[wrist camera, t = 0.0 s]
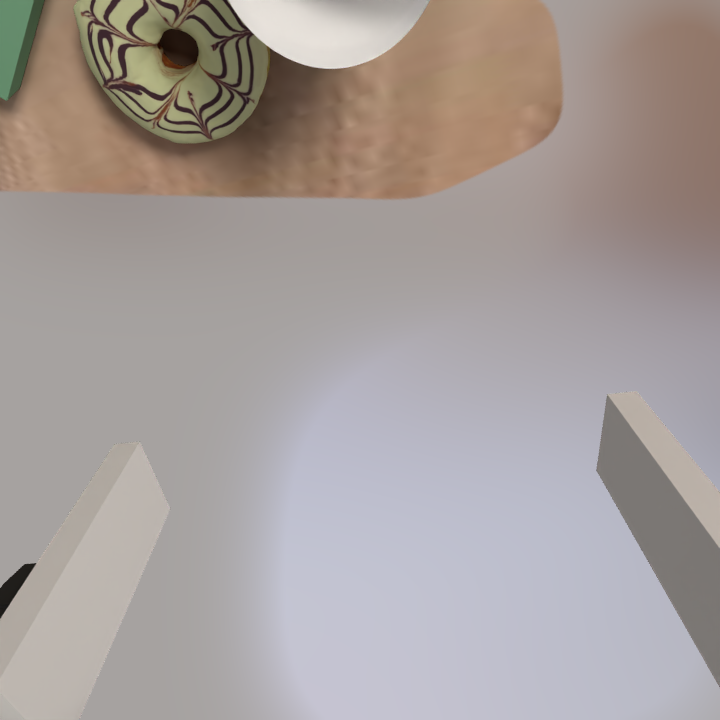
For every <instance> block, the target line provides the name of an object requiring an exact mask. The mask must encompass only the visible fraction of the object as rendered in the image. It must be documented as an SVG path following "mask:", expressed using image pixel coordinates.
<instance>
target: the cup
mask: <svg viewBox="0 0 720 720" xmlns="http://www.w3.org/2000/svg"><path fill="white" fill-rule="evenodd" d="M228 1H229V2H230V4H231V6H232V7H233V9H234V10H235V12H236V13H237V15H238V16H239V17H240V19H241V20H242V21H243V23H244V24H245V25H246V26H247V27H248V28H249V30H250V31H251V32H252V33H253V34H254V35H255V36H256V37H257V38H258V39H260V40H261V41H262V42H263V43H264V44H266V45H267V46H268V47H270V48H271V49H272V50H274V51H275V52H277V53H279V54H280V55H282V56H284V57H286V58H288V59H290V60H292V61H295V62H297V63H300V64H303V65H307V66H311V67H316V68H324V69H338V68H347V67H351V66H356V65H359V64H362V63H365V62H368V61H370V60H372V59H374V58H376V57H378V56H380V55H381V54H383V53H385V52H386V51H388V50H389V49H390V48H392V47H393V46H394V45H395V44H397V43H398V42H399V41H400V40H401V39H402V38H403V37H404V36H405V35H406V34H407V33H408V32H409V31H410V30H411V28H412V27H413V26H414V25H415V23H416V22H417V21H418V19H419V18H420V16H421V15H422V13H423V12H424V10H425V8H426V6H427V5H428V3H429V1H430V0H228Z"/></svg>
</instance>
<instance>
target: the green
mask: <svg viewBox="0 0 720 720" xmlns="http://www.w3.org/2000/svg"><path fill="white" fill-rule="evenodd" d="M43 4H44V0H0V97H1V98H3V99H4V100H6V101H7V100H8V99H9V98H10V97H11V96H12V95H13V94H14V93H15V92H16V91H17V90H18V89H19V88H20V86H21V82H22V79H23V75H24V72H25V68H26V64H27V61H28V57H29V54H30V50H31V47H32V43H33V39H34V36H35V32H36V29H37V25H38V22H39V18H40V14H41V11H42V7H43Z"/></svg>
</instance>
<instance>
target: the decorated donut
mask: <svg viewBox="0 0 720 720" xmlns="http://www.w3.org/2000/svg"><path fill="white" fill-rule="evenodd" d="M74 13H75V17H76V21H77V25H78V28H79V30H80V40H81V43H82V48H83V51H84V54H85V57H86V60H87V63H88V65H89V67H90V69H91V71H92V72H93V74H94V76H95V77H96V79H97V80H98V82H99V84H100V85H101V87H102V89H103V90H104V91H105V92H106V94H107V95H108V96H109V97H110V98H111V100H112V101H113V102H114V103H115V105H116V106H117V107H118V108H119V109H121V110H122V111H123V112H124V113H125V114H126V115H127V116H128V117H130V118H131V119H132V120H134V121H135V122H136V123H138V124H139V125H140V126H141V127H143V128H145V129H146V130H148V131H150V132H152V133H153V134H155V135H157V136H160V137H162V138H165V139H168V140H170V141H172V142H175V143H201V142H209V141H212V140H216V139H218V138H222V137H225V136H227V135H229V134H230V133H232V132H233V131H235V130H236V128H237V127H239V126H240V125H242V124H243V123H244V121H245V120H246V119H247V118H248V117H250V116H251V114H252V112H253V111H254V109H255V108H256V106H257V104H258V101H259V99H260V97H261V94H262V92H263V90H264V87H265V83H266V80H267V75H268V71H269V65H270V48H269V47H268V46H267V45H266V44H264V43H263V42H262V41H261V40H260V39H258V38H257V37H256V36H255V35H254V34H253V33H252V32H251V31H250V30H249V28H248V27H247V26H246V25H245V24H244V23H243V21H242V20H241V19H240V17H239V16H238V15H237V13H236V12H235V10H234V9H233V7H232V6H231V4H230V2H229V1H228V0H78V1H77V3H76V4H75V5H74ZM168 29H177V30H181V31H184V32H186V33H188V34H189V35H191V36H192V37H193V38H194V39H195V40H196V42H197V45H198V49H199V54H198V57H197V61H196V62H194V64H190V65H187V66H182V65H181V66H179V65H176V64H174V63H173V62H172V61H171V60H169V59H168V58H167V56H166V55H165V53H163V50H164V49H163V47H162V46H161V45H160V39H161V37H162V35H163V33H164V32H165V31H166V30H168Z"/></svg>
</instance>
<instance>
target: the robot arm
mask: <svg viewBox="0 0 720 720" xmlns="http://www.w3.org/2000/svg"><path fill="white" fill-rule="evenodd" d="M597 472H598V474H599V476H600V478H601V479H602V481H603V483H604V484H605V486H606V488H607V490H608V492H609V493H610V495H611V497H612V499H613V500H614V502H615V504H616V506H617V507H618V509H619V510H620V513H621V514H622V516H623V518H624V520H625V522H626V523H627V525H628V527H629V529H630V530H631V532H632V534H633V535H634V537H635V539H636V541H637V543H638V544H639V546H640V548H641V550H642V551H643V553H644V555H645V557H646V558H647V560H648V562H649V564H650V566H651V567H652V569H653V571H654V572H655V574H656V576H657V578H658V579H659V581H660V583H661V585H662V587H663V588H664V590H665V592H666V594H667V595H668V597H669V599H670V601H671V602H672V604H673V606H674V608H675V610H676V611H677V613H678V615H679V617H680V618H681V620H682V622H683V623H684V625H685V627H686V629H687V631H688V632H689V634H690V636H691V638H692V639H693V641H694V643H695V645H696V646H697V648H698V650H699V652H700V653H701V655H702V657H703V659H704V660H705V662H706V664H707V666H708V668H709V669H710V671H711V673H712V675H713V676H714V678H715V680H716V682H717V683H718V685H719V687H720V492H719V491H718V489H717V488H716V487H715V486H714V485H713V483H712V482H711V481H710V480H709V479H708V477H707V476H706V475H705V474H704V472H703V471H702V470H701V469H700V468H699V466H698V465H697V464H696V463H695V462H694V460H693V459H692V458H691V457H690V456H689V454H688V453H687V452H686V451H685V449H684V448H683V447H682V446H681V445H680V443H679V442H678V441H677V440H676V439H675V437H674V436H673V435H672V434H671V432H670V431H669V430H668V429H667V428H666V426H665V425H664V424H663V423H662V422H661V420H660V419H659V418H658V417H657V416H656V414H655V413H654V412H653V411H652V409H651V408H650V407H649V406H648V405H647V403H646V402H645V401H644V400H643V399H642V398H641V396H640V395H639V394H638V392H636V391H635V392H624V393H615V394H607V399H606V406H605V414H604V420H603V427H602V435H601V442H600V449H599V456H598V463H597ZM169 511H170V507H169V505H168V503H167V501H166V498H165V496H164V494H163V492H162V490H161V487H160V485H159V483H158V481H157V479H156V476H155V474H154V472H153V470H152V468H151V466H150V463H149V461H148V459H147V457H146V454H145V452H144V450H143V448H142V446H141V443H140V442H132V443H121V444H114V445H113V447H112V449H111V450H110V452H109V453H108V455H107V456H106V458H105V459H104V461H103V462H102V464H101V465H100V467H99V468H98V470H97V472H96V473H95V475H94V476H93V478H92V479H91V481H90V482H89V484H88V486H87V487H86V488H85V490H84V492H83V493H82V495H81V496H80V498H79V499H78V501H77V502H76V504H75V505H74V507H73V508H72V510H71V511H70V513H69V514H68V516H67V518H66V519H65V521H64V522H63V524H62V525H61V527H60V528H59V530H58V531H57V533H56V534H55V536H54V538H53V539H52V541H51V542H50V544H49V545H48V547H47V548H46V550H45V551H44V553H43V555H42V556H41V557H40V559H39V561H38V562H37V563H34V564H25V565H23V566H22V567H21V568H20V569H19V570H18V571H17V572H16V573H15V574H14V575H13V576H12V577H10V578H9V579H8V580H7V581H6V582H5V583H4V584H3V585H2V587H1V588H0V720H79V719H80V717H81V714H82V712H83V710H84V707H85V705H86V703H87V700H88V698H89V696H90V693H91V691H92V689H93V686H94V684H95V682H96V680H97V677H98V675H99V673H100V670H101V668H102V666H103V663H104V661H105V659H106V657H107V654H108V652H109V650H110V647H111V645H112V643H113V640H114V638H115V635H116V633H117V631H118V629H119V626H120V624H121V622H122V620H123V617H124V615H125V613H126V610H127V608H128V606H129V603H130V601H131V599H132V596H133V594H134V592H135V589H136V587H137V585H138V583H139V580H140V578H141V576H142V573H143V571H144V569H145V566H146V564H147V562H148V559H149V557H150V555H151V553H152V550H153V548H154V546H155V543H156V541H157V539H158V536H159V534H160V532H161V529H162V527H163V524H164V522H165V520H166V518H167V515H168V513H169Z"/></svg>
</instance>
